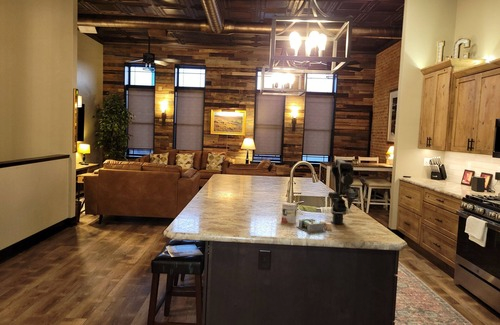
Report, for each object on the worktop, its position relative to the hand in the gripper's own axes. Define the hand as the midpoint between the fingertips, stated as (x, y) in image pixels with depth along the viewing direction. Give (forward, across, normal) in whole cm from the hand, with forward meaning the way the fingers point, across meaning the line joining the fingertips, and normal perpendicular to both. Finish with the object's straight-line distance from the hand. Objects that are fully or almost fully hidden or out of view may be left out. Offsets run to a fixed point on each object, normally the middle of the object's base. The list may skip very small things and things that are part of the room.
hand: (342, 209), depth 225 cm
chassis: (+12, -20, +3) cm, 24 cm away
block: (+12, -9, +4) cm, 16 cm away
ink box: (+12, -23, +24) cm, 35 cm away
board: (+9, -20, +3) cm, 22 cm away
